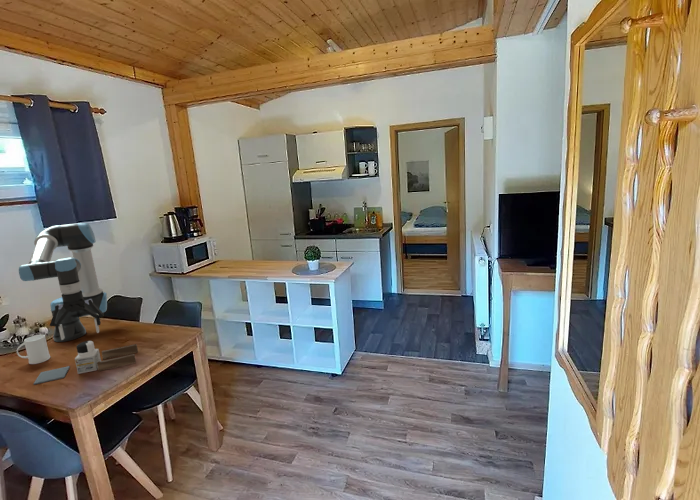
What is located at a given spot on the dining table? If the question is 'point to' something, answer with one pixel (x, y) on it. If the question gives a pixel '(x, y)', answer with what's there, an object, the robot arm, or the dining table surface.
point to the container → (87, 357)
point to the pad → (51, 375)
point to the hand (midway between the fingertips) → (80, 335)
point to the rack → (120, 360)
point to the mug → (35, 349)
